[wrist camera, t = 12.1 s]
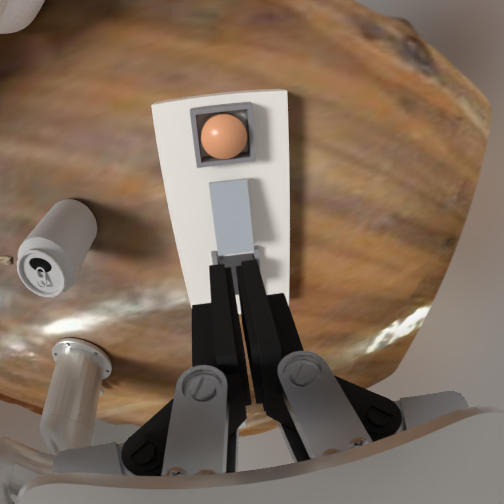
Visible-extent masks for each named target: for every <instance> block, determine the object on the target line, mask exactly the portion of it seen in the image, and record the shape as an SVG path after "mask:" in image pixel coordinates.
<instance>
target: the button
mask: <svg viewBox="0 0 504 504" xmlns="http://www.w3.org/2000/svg"><path fill="white" fill-rule="evenodd" d="M201 142H202V145H203V147H204V149H205V151H206V152H207V153H208V154H209V155H211V156H213V157H215V158H218V159H229V158H232V157H234V156H236V155H238V154H239V153H240V152H241V151H242V150H243V149H244V147H245V145H246V142H247V132H246V129H245V127H244V125H243V123H242V122H241V121H240V119H239V118H238V117H236V116H235V115H233V114H231V113H227V112H220V113H216V114H214V115H212V116H210V117H209V118H208V119H207V120H206V121H205V123H204V124H203V127H202V132H201Z"/></svg>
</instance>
